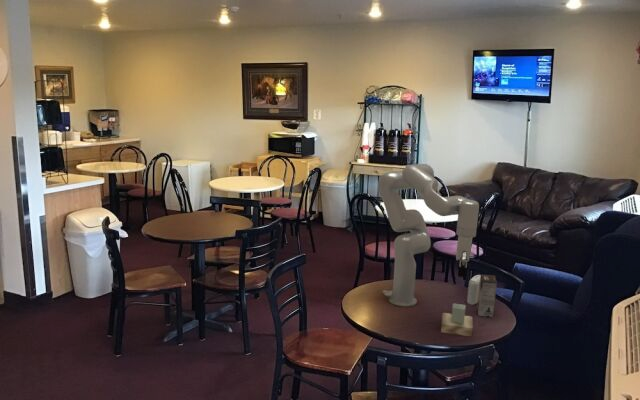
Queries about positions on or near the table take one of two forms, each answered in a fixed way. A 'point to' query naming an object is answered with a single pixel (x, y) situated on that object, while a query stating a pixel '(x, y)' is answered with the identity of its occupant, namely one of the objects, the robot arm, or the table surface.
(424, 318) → the table surface
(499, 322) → the table surface
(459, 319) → the sage block
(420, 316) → the table surface
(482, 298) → the coffee box
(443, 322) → the maple base
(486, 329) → the table surface
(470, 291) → the photo printer
